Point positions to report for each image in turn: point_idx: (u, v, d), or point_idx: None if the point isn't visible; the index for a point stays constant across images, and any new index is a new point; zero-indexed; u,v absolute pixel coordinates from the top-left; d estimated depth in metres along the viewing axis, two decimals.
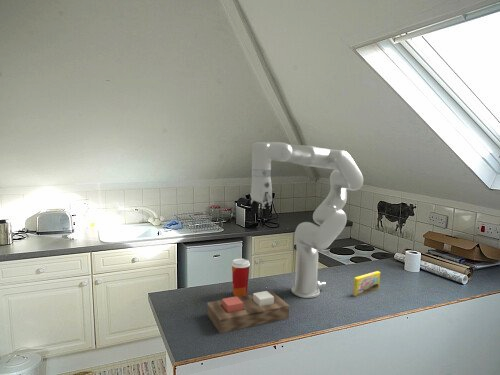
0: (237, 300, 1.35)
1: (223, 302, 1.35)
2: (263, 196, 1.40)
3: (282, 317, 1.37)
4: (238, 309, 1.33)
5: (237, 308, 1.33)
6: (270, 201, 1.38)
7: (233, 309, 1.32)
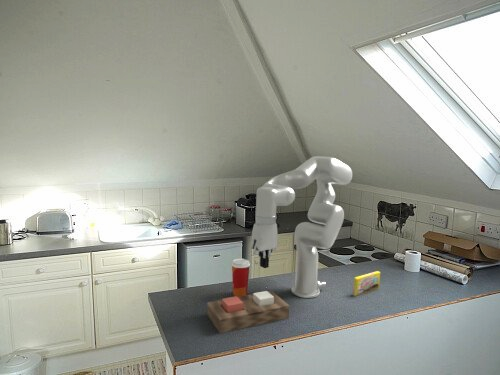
0: (237, 300, 1.35)
1: (223, 302, 1.35)
2: None
3: (282, 317, 1.37)
4: (238, 309, 1.33)
5: (237, 308, 1.33)
6: None
7: (233, 309, 1.32)
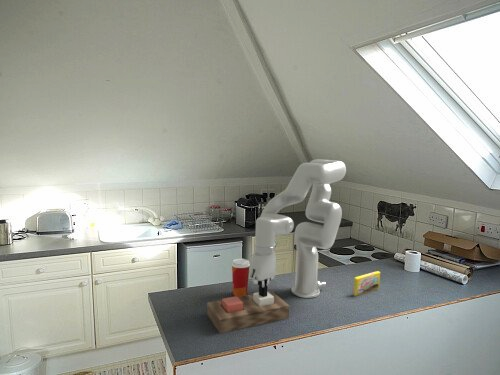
0: (237, 300, 1.35)
1: (223, 302, 1.35)
2: None
3: (282, 317, 1.37)
4: (238, 309, 1.33)
5: (237, 308, 1.33)
6: None
7: (233, 309, 1.32)
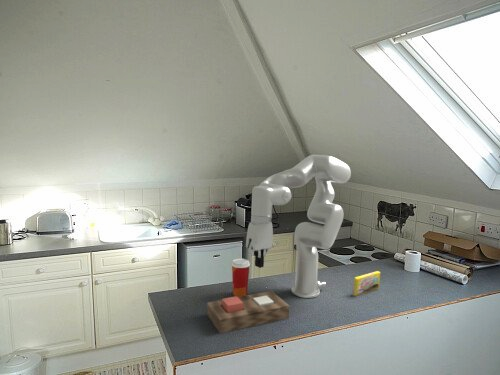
0: (237, 300, 1.35)
1: (223, 302, 1.35)
2: None
3: (282, 317, 1.37)
4: (238, 309, 1.33)
5: (237, 308, 1.33)
6: None
7: (233, 309, 1.32)
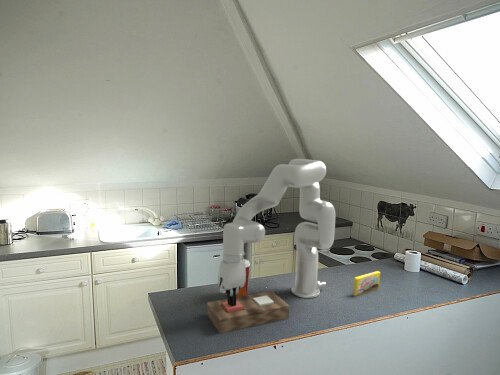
0: (237, 304, 1.35)
1: (223, 305, 1.35)
2: None
3: (282, 317, 1.37)
4: None
5: None
6: None
7: None
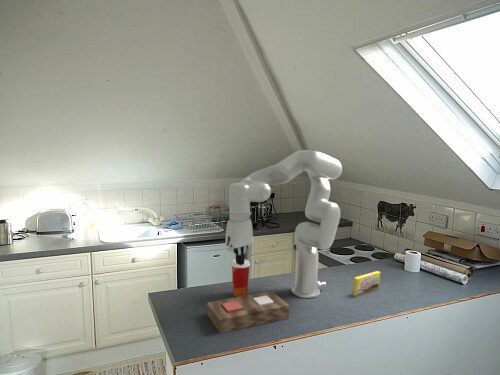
0: (237, 305, 1.36)
1: (223, 307, 1.36)
2: None
3: (282, 317, 1.37)
4: None
5: None
6: None
7: None
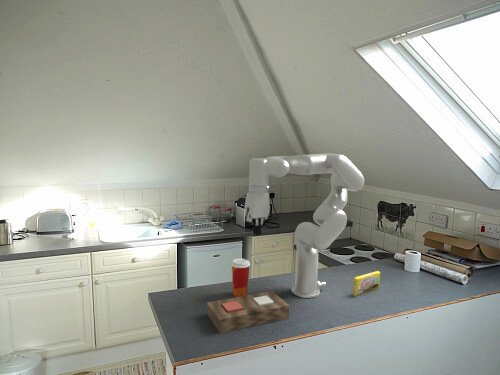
0: (237, 305, 1.36)
1: (223, 307, 1.36)
2: None
3: (282, 317, 1.37)
4: None
5: None
6: None
7: None
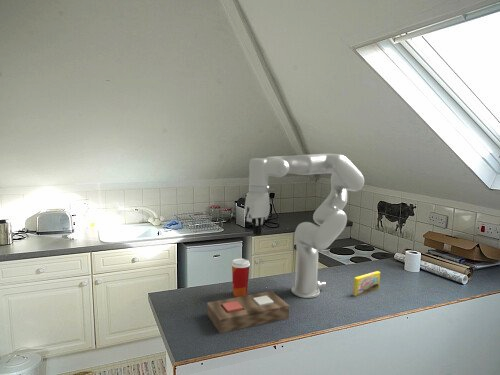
0: (237, 305, 1.36)
1: (223, 307, 1.36)
2: None
3: (282, 317, 1.37)
4: None
5: None
6: None
7: None
